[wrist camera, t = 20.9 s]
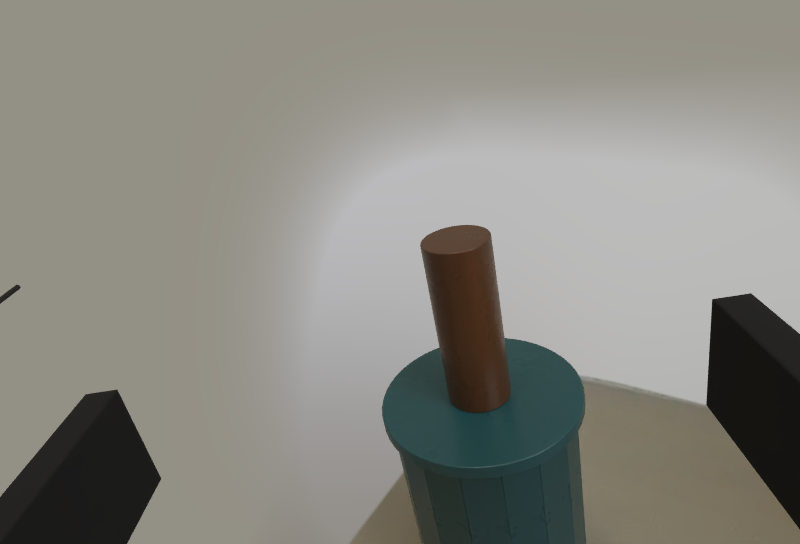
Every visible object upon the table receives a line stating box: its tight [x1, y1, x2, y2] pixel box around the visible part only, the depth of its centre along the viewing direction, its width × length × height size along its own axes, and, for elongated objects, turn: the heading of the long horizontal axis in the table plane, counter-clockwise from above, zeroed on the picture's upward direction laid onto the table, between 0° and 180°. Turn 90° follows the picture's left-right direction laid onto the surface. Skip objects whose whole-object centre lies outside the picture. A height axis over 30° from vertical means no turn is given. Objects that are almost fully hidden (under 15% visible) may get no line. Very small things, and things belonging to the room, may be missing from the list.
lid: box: [382, 225, 585, 479], centre depth 24 cm, size 9×9×9 cm
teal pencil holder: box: [399, 432, 586, 544], centre depth 28 cm, size 8×8×12 cm
